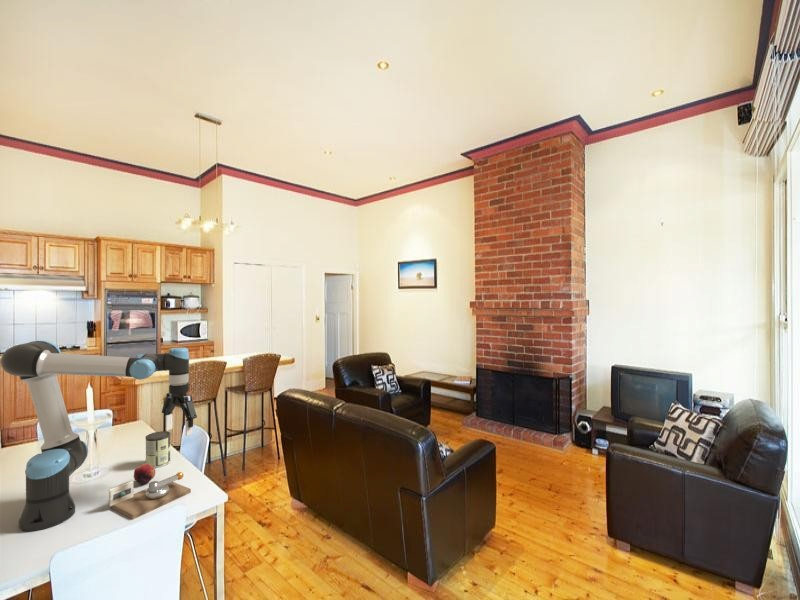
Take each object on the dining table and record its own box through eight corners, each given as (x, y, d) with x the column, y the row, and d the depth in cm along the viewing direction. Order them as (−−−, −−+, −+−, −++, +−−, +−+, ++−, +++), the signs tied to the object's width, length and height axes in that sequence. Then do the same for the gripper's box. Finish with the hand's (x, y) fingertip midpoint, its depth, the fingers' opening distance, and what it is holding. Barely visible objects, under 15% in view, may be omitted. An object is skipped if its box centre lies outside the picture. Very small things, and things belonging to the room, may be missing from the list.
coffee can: (155, 458, 192) (156, 430, 192) (175, 459, 191) (175, 431, 191) (140, 467, 181) (140, 438, 181) (160, 468, 180) (160, 439, 180)
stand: (130, 520, 139) (130, 500, 139) (107, 508, 146) (107, 489, 146) (190, 492, 159) (190, 474, 159) (168, 483, 167) (168, 466, 167)
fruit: (156, 477, 172) (157, 460, 172) (152, 485, 164) (152, 467, 164) (136, 480, 169) (136, 462, 169) (131, 488, 162) (131, 470, 162)
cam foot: (152, 501, 149) (152, 488, 149) (141, 496, 152) (141, 483, 152) (188, 485, 161) (188, 473, 161) (177, 480, 165) (177, 468, 165)
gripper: (206, 384, 164) (206, 434, 164) (169, 378, 175) (169, 425, 175) (189, 388, 157) (189, 439, 157) (152, 382, 168) (152, 430, 168)
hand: (178, 432), depth 166 cm, fingers open, 13 cm apart
